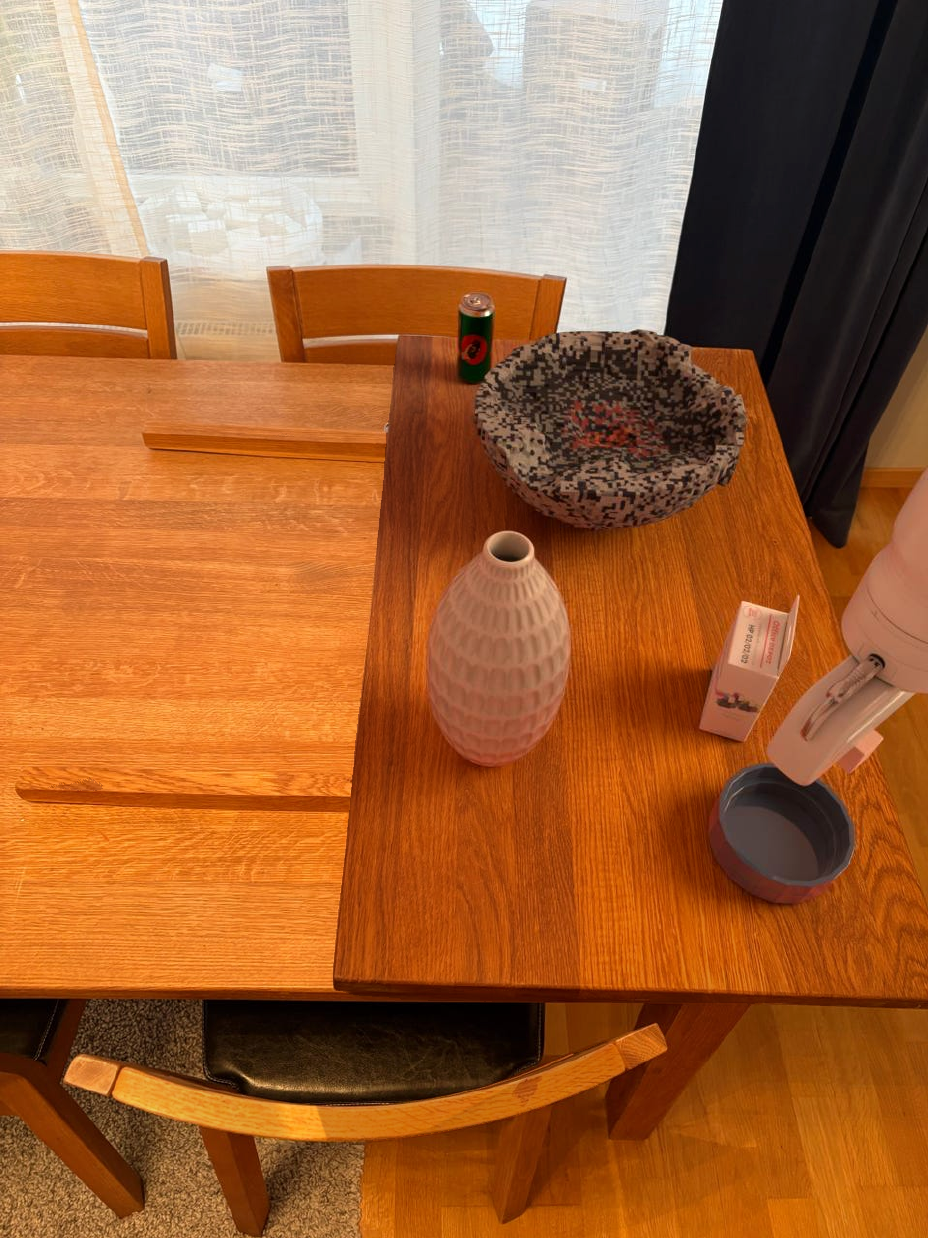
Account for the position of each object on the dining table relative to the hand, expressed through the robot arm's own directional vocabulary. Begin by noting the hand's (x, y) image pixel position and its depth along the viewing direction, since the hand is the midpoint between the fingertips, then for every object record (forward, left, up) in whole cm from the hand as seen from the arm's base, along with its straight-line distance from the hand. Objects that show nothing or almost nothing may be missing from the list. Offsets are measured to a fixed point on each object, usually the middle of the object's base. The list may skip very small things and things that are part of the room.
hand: (843, 736), depth 66 cm
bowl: (+36, -34, -19) cm, 53 cm away
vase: (+28, +5, -19) cm, 34 cm away
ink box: (+9, -12, -19) cm, 24 cm away
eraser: (0, 0, -1) cm, 1 cm away
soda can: (+62, -47, -19) cm, 80 cm away
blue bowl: (0, 0, -18) cm, 18 cm away
